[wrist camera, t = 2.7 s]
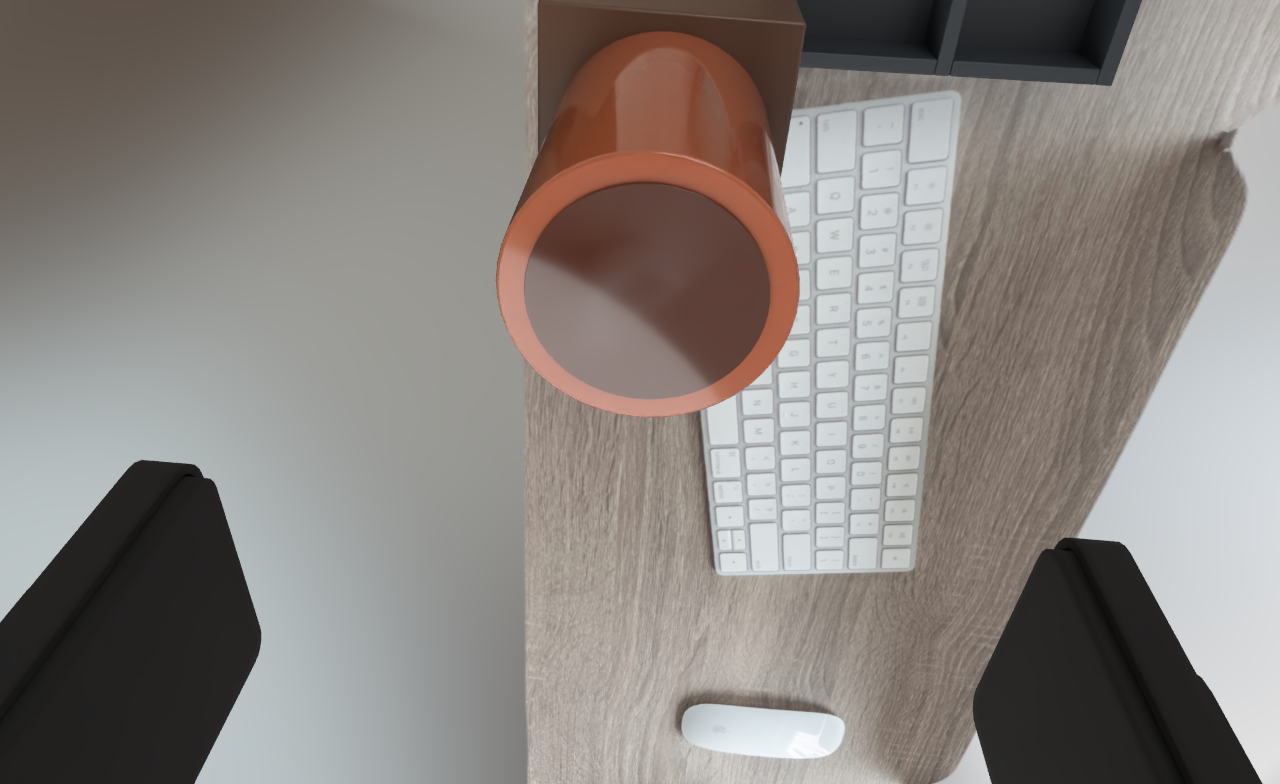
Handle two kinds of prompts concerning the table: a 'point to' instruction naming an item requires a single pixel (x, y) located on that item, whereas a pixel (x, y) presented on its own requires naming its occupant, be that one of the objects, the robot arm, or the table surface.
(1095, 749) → the robot arm
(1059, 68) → the divided tray
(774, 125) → the brown wooden block
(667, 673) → the table surface
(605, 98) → the tumbler
